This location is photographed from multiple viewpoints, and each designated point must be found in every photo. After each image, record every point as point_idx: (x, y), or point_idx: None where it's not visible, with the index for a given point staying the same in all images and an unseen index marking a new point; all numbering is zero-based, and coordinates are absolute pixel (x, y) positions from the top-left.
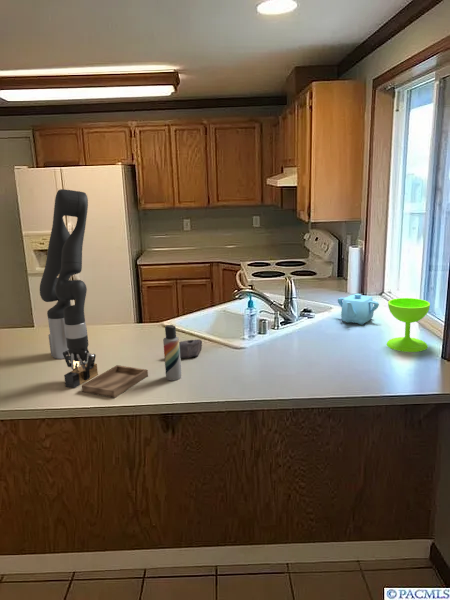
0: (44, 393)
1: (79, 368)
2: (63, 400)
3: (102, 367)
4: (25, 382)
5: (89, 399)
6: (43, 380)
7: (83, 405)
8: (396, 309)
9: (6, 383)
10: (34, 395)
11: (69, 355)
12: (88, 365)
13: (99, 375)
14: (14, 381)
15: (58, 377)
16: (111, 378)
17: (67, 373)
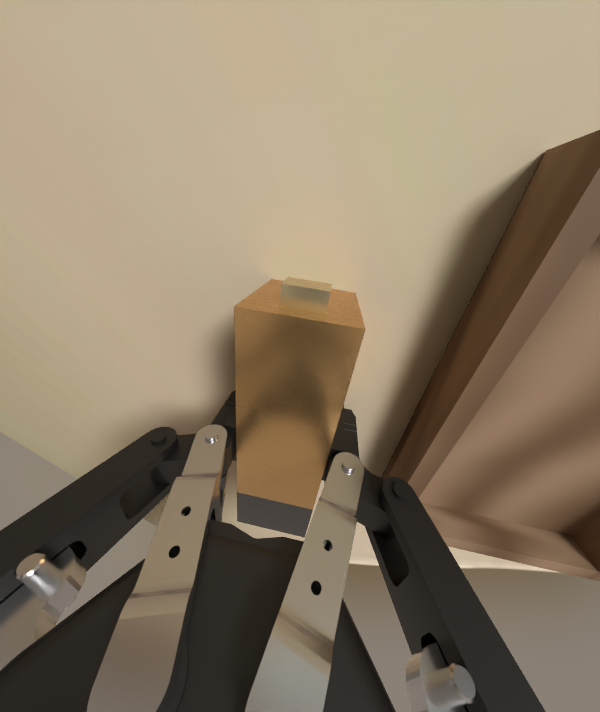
0: (224, 497)
1: (258, 446)
2: None
3: (306, 71)
4: (62, 428)
5: None
6: (104, 407)
7: None
8: None
9: (15, 439)
10: None
11: (78, 580)
12: (398, 572)
13: (443, 432)
14: (16, 423)
15: (133, 369)
16: (519, 373)
17: (240, 508)
